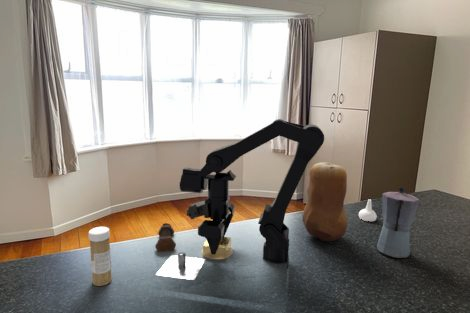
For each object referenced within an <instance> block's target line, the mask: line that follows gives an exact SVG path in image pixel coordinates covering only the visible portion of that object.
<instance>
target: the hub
mask: <svg viewBox="0 0 470 313" xmlns="http://www.w3.org/2000/svg"><path fill="white" fill-rule="evenodd" d="M205 262H206V259H205V258H200V257H191V256H187V255H186V252H183V251H182V252H178V254H177V255H173V254H171V255H170V256H169V257H168V259H167V260H165V262H164V264H163V265H162V266H161V267H160V268H159V270H158V271H157V272H156V274H155V276H161V277H168V278H175V279H182V280H190V281H195V280H196V277H197V276H198V275H199V272H200V270H201V269H202V268H203V264H204V263H205Z"/></svg>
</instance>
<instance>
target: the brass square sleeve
mask: <svg viewBox="0 0 470 313" xmlns="http://www.w3.org/2000/svg"><path fill="white" fill-rule="evenodd" d="M220 243H221V245H219V247H218V249H217V252H216V254H215V255H214V254H211V251H210V248H209V245H208V242H207V239H206V240H205V241H204V243H203V245H202V249H203V254H202V256H203V257H205V256H211V257H220V258H225V259H227V258H228V257H227V255H228V253H229V250H230V248H232V238H231V237H227V236H224V237H222V239H221V242H220ZM226 257H227V258H226Z"/></svg>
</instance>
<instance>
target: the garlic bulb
mask: <svg viewBox="0 0 470 313" xmlns="http://www.w3.org/2000/svg"><path fill="white" fill-rule="evenodd" d="M372 208H373V207H372V199H369V198H368V199H367V203H366V206H365V208H362V209H361V210H360V211H359V212H358V217H359V219H360V220H361V219H362V220H361V221H365V222H368V221H369V222H371V223H372V222H375V221H376V220H377V217H378V216H377V213H376V212H375V211H374V210H373V209H372Z"/></svg>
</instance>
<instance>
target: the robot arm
mask: <svg viewBox="0 0 470 313" xmlns="http://www.w3.org/2000/svg"><path fill="white" fill-rule="evenodd" d="M278 137H283V138H285V139H287V140H290V141H293V142H297V144H296V148H295V154H294V156H293V158H292V160H291V163H290V165H289V168H288V170H287V172H286V174H285V176H284V179H283V180H282V183H281V186H280V187H279V190H278V192H277V194H276V197H275V199H274V200H273V202H272V203H271V204H269V203H267V202H266V203H265V206H264V209H263V212H262V213H260V216H259V219H258V223H257V224H258V225H259V226H258V227H259V230H258V231H259V233H260V235H261V236H262V237H263V238H264V239H265V242H264V243H263V248H262V259H263V260H265V261H268V262H270V263H272V264H276V265H279V264H285V263H286V264H287V265H286V266H287V267H286V269H288V268H289V257H290V255H289V252H290V250H289V248H290V239H289V236H290V234H289V233H290V228H289V227H288V226H287V225H286V224H285V223H284V221H285V216H286V211H287V209H288V206H289V205H290V202H291V200H292V198H293V196H294V194H295V192H296V190H297V188H298V185H299V183H300V181H301V179H302V177H303V175H304V173H305V171H306V168H307V166H308V164H309V162H310V161H311V160H313V158H314V157H315V155H316V154H317V153H318V151H320V149H321V147H322V146H323V144H324V142H325V134H324V132H323V130H322V129H321V128H320V127H319V126H318V125H316V124H313V123H312V124H307V125H302V124H298V123H295V122H291V121H286V120H284V119H282V118H278V119H275V120H274V121H273V122H272V123H269V124H267V125H265V126H264V127H263V128H261V129H259V130H257V131H255V132H253V133H252V134H250V135H248V136H246V137H244V138H243V139H241V140H239V141H237V142H234V143H231V144H228V145H225V146H221V147H219V148H216V149H215V150H213V151H211V152H210V153H208V154H207V156H206V159H205V164H204V165H203V166H202V168H191V167H184V168H182V174H181V177H180V181H179V189H180V192H183V193H190V194H191V193H193V194H203V192H204V191H206V190H207V198H206V199H205V200H201V201H197V202H194V203H191V204H190V205H189V206H188V207H187V209H186V216H188V217H189V219H190V220H195V219H196V218H199V217H203V218H204V220H203V221H202V222H201V223H200V225H199V226H198V227H197V235H198V236H199V237H202V238H205V239H206V240H207V242H208V245H209V248H210V251H211V254H214V255H215V254H216V252H217V249H218V247H219V244H220V242H221V239H222V237H226V233H227V232H228V229H229V227H230V225H231V222H232V219H233V217H234V214H235V211H236V210H235V208H236V207H235V205H234V204H233V203H231V202H229V201H230V199H231V195H229V192H230V190H229V184H230V183H229V181H230V182H233V181H234V180H236V178H237V175H236V174H234V173H233V172H232V170H231V169H228V171H227V172H224V170H226V169H227V168H228V167H229V166H231V165H232V164H233V163H234V162H236V160H238V159H240V157H242V156H244V155H246V154H247V153H249V152H251V151H253V150H255V149H257V148H259V147H261V146H262V145H264V144H267V143H268V142H270V141H272V140H273V139H276V138H278ZM212 173H215V174H212ZM209 218H210V220H209Z"/></svg>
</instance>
